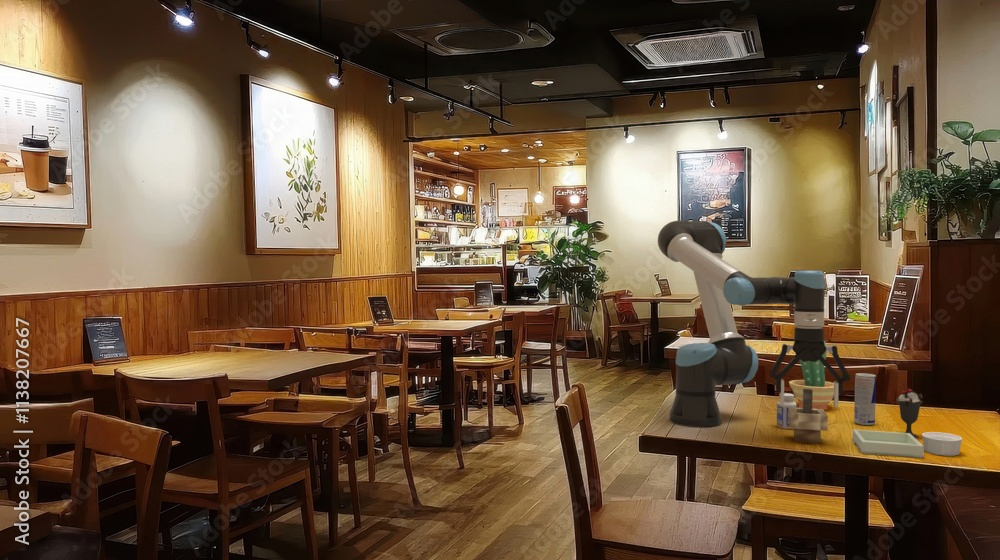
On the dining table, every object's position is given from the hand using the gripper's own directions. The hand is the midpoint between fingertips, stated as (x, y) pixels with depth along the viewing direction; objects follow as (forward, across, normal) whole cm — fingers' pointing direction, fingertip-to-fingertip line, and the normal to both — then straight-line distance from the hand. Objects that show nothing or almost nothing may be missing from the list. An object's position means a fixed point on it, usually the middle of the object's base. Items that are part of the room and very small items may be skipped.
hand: (808, 405), depth 199 cm
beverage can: (+10, +19, +27) cm, 35 cm away
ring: (+6, 0, 0) cm, 6 cm away
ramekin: (+10, +32, -2) cm, 33 cm away
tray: (+10, +19, -3) cm, 21 cm away
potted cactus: (+9, +7, +48) cm, 50 cm away
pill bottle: (+10, -4, +15) cm, 19 cm away
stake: (+10, 0, 0) cm, 10 cm away
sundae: (+10, +28, +14) cm, 33 cm away
